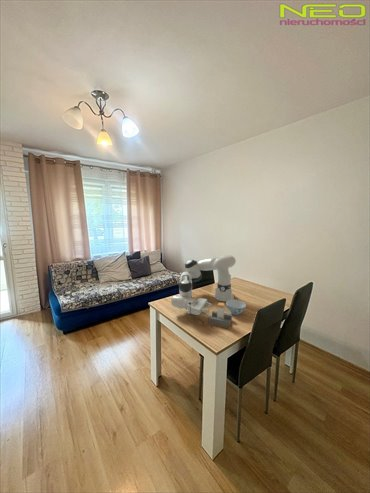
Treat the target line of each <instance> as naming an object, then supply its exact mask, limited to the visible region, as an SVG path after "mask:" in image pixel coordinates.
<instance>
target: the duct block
mask: <svg viewBox="0 0 370 493" xmlns="http://www.w3.org/2000/svg"><path fill="white" fill-rule="evenodd" d="M232 320H233V314H232V313H227V312H224V319H221V318H217V311H216V310H212V312H211V316H209V317H208V325H209V326H210V325H211V326H216V327H219V328H224V329H230V327H231V323H232Z"/></svg>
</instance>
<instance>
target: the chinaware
mask: <svg viewBox="0 0 370 493" xmlns="http://www.w3.org/2000/svg"><path fill="white" fill-rule="evenodd" d="M225 304H226V305H225V306H226V308H227V310H228V311H229V312H230V314H232V316H239V315H241V314H242V313H244V311H245V310H246V308H247V304H246V302H244V301H243V300H239V299H234V300H228V301H226V303H225Z"/></svg>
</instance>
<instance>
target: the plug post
mask: <svg viewBox="0 0 370 493" xmlns="http://www.w3.org/2000/svg"><path fill="white" fill-rule="evenodd" d="M225 304H226V303H225V302H221V301H220V302H218V303H217V309H216V310H217V318H221V319H224V313H225V306H226V305H225Z"/></svg>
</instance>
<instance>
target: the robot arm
mask: <svg viewBox="0 0 370 493" xmlns="http://www.w3.org/2000/svg"><path fill="white" fill-rule="evenodd" d="M235 264H236V258H235V256H233V255H222V256H221V255H220V256H218V257H209V258H205V259H201V260H199V261H198V260H195V259H188V260H187V261H186V262H185V264H184V267H185V269H186V271H182V273H181V274H180V277H179V283H178V289H179V290H178V291H179V294H178V295H173V296H171V305H172V307H173V308H178V309H180V310H181V309H182V310H183V309H184V310H186V311H187V314H189V315H190V314H191V315H195V316H199V315H201V314H202V313H209V310H210V309H209V308H205V307H206V306H209V307H212V306H213V304H212V303H210V301H209V302H208V299H207V298H200V297H198V298H197V299H196V298H193V291H192V289H193V287H192V286H193V282H199V281H201V279H202V278H203V275H202V272H201V271H216V272H217V284H216V285H217V286H216V288H215V293H214V295H213V298H214V299H215V300H217V301H220V302H224V303H225V302H227V301H228V300H235V295H234V293H233V290H232V284H231V279H232V278H231V277H232V275H231V274H230V271H229V269H230V268H232V267H234V266H235Z"/></svg>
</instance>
